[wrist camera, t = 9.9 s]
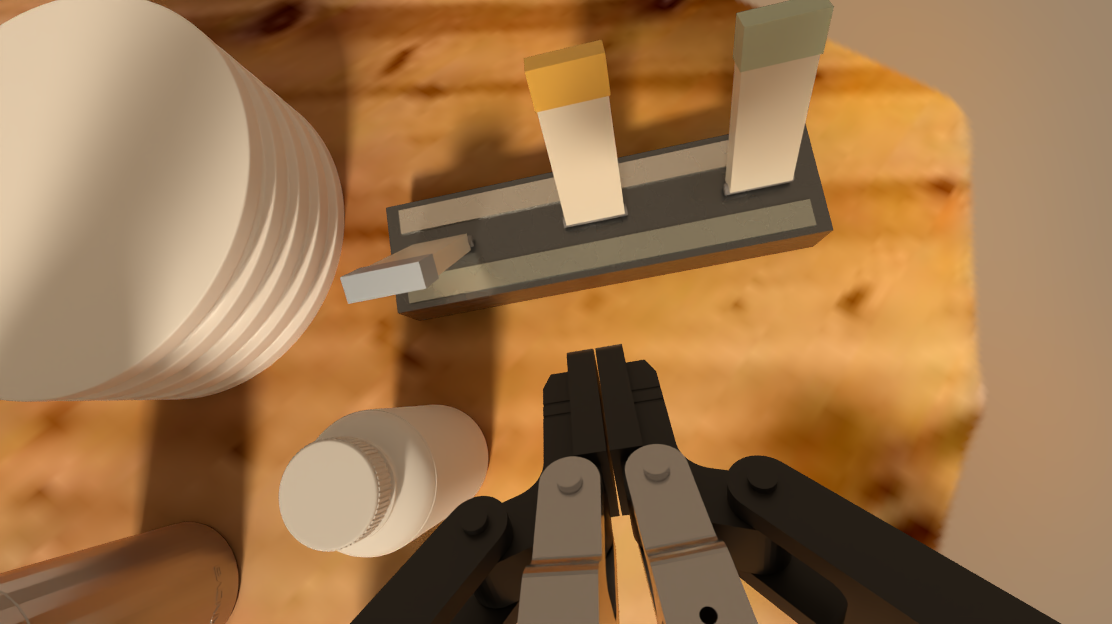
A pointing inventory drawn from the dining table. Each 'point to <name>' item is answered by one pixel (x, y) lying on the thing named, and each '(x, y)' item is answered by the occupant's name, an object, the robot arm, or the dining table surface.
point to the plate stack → (150, 209)
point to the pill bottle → (382, 478)
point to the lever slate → (406, 269)
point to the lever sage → (772, 90)
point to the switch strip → (607, 229)
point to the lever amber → (578, 130)
